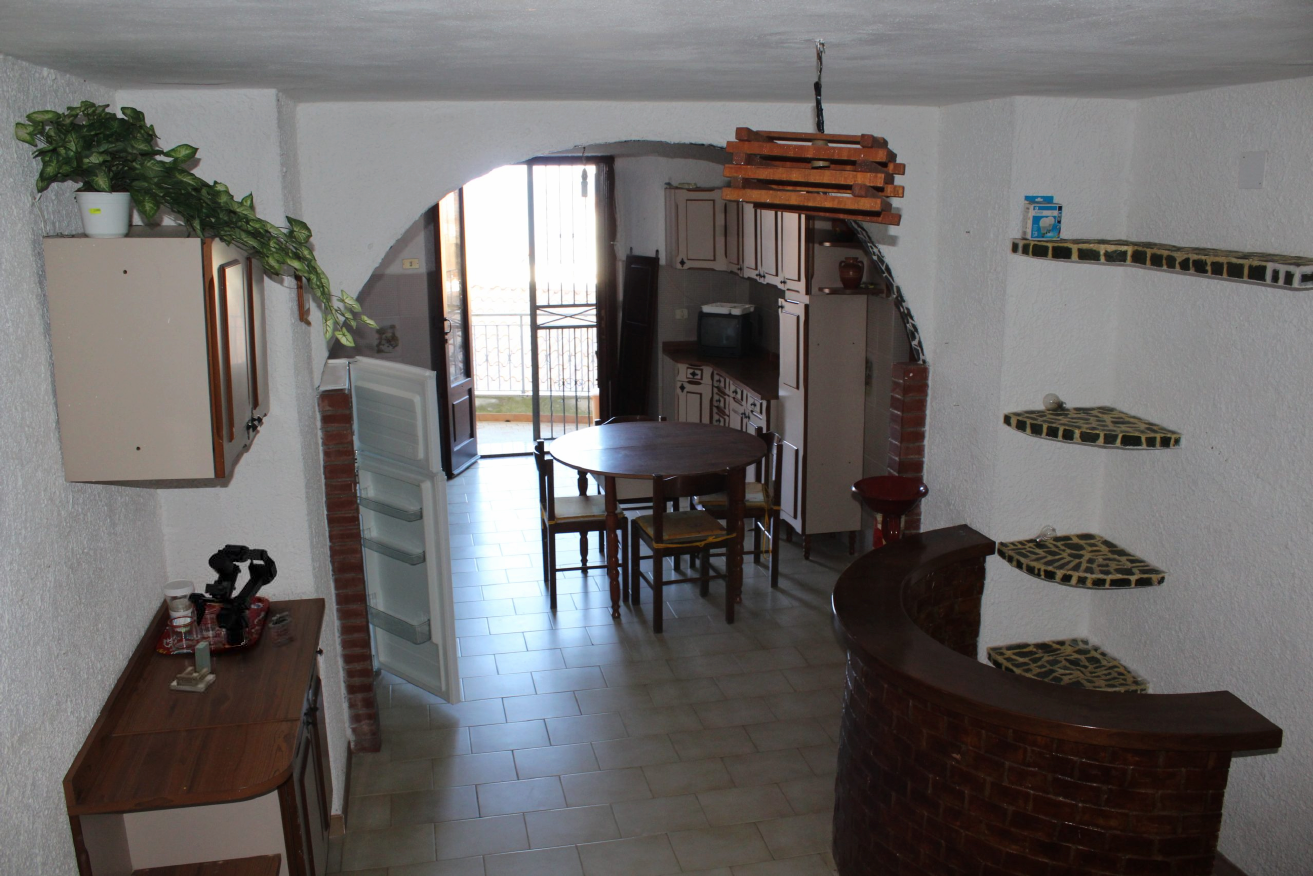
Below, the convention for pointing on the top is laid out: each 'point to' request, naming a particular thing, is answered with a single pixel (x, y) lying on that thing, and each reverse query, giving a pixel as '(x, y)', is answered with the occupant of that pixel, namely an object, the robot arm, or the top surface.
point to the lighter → (280, 630)
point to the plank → (202, 656)
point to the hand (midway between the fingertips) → (212, 627)
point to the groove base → (193, 680)
